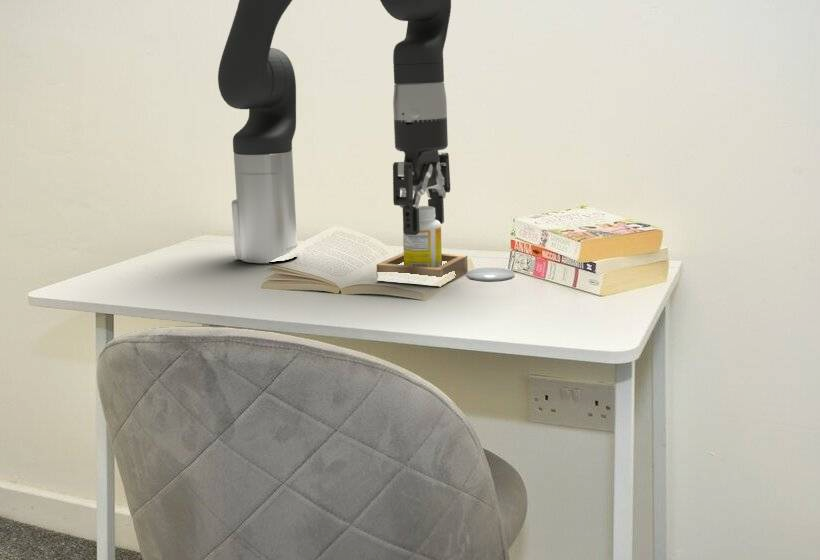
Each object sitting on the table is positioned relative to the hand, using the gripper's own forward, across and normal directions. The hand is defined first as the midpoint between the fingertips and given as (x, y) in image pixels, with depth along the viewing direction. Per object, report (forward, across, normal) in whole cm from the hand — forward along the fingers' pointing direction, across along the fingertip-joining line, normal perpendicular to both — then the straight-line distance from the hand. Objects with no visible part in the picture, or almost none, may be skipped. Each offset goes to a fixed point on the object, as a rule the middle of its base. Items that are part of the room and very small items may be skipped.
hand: (424, 229), depth 138 cm
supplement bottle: (+7, 0, 0) cm, 7 cm away
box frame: (+7, 0, 0) cm, 7 cm away
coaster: (+7, -4, +8) cm, 12 cm away
